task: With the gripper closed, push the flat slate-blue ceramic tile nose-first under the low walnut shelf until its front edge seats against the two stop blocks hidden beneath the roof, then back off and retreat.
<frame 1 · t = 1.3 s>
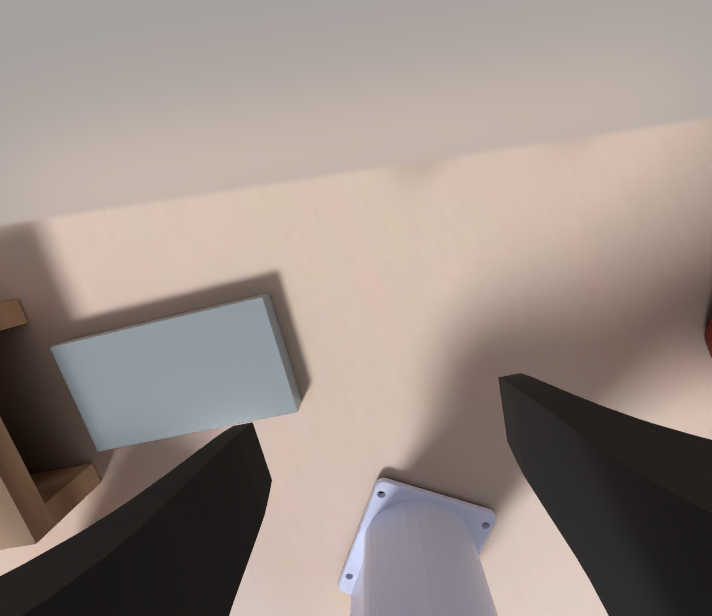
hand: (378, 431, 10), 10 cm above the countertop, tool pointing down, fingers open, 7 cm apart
tile: (190, 367, 22), on the countertop
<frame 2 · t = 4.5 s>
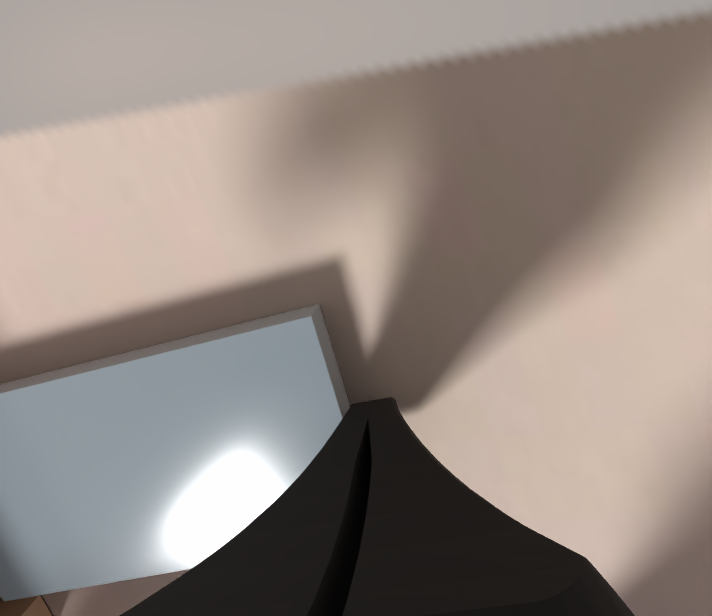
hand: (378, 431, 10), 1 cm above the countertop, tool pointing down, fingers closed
tile: (169, 441, 12), on the countertop, touching gripper
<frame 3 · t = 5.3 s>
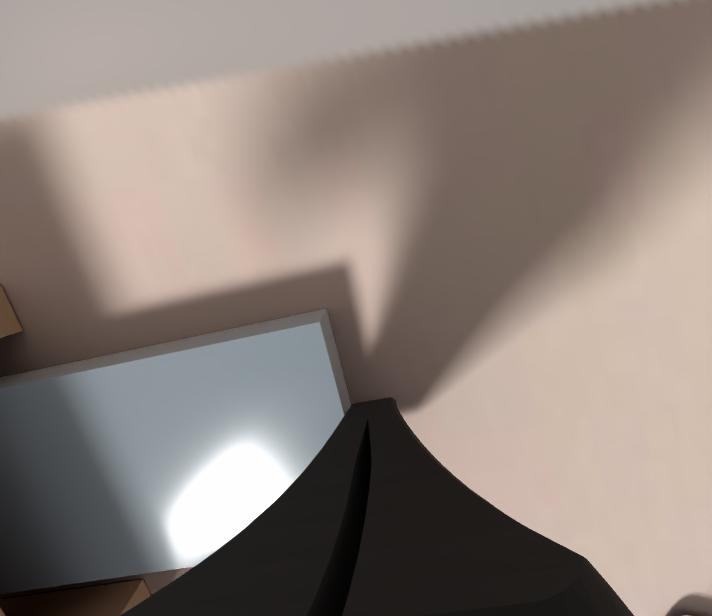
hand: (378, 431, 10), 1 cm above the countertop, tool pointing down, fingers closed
tile: (170, 439, 12), on the countertop, touching gripper
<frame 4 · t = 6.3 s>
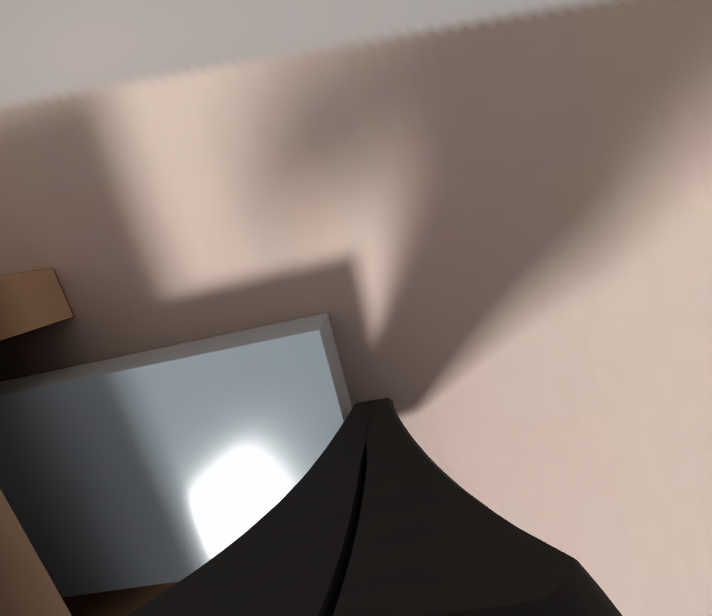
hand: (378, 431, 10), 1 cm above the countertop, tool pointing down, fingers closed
tile: (167, 448, 12), on the countertop, touching gripper
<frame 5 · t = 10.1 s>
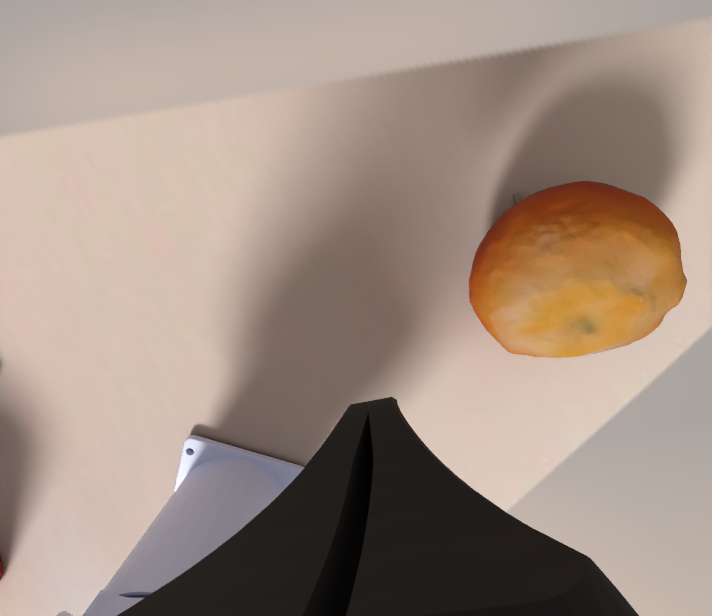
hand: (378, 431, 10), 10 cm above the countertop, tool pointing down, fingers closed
fruit: (525, 265, 19), on the countertop
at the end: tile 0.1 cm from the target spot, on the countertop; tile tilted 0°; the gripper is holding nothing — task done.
